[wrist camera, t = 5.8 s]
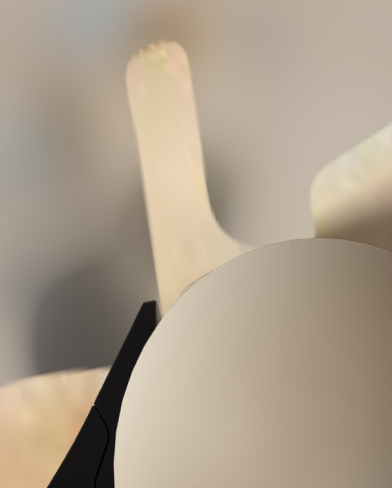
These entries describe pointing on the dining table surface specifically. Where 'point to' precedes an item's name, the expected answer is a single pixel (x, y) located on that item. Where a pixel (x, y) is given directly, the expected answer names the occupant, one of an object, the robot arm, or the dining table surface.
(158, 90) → the dining table surface
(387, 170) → the dining table surface
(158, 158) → the dining table surface
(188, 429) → the pin
